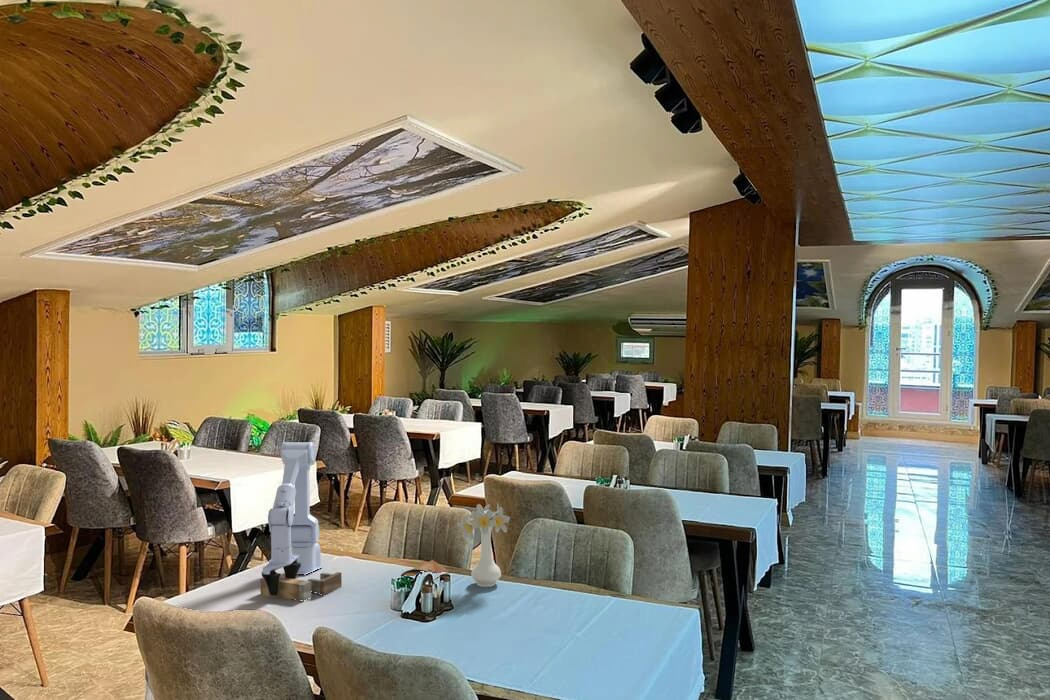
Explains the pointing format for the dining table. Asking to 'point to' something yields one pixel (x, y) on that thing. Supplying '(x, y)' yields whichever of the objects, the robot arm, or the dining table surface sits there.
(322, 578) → the wooden channel piece
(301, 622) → the dining table surface
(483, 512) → the flower vase
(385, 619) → the dining table surface
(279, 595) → the bed rail
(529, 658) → the dining table surface
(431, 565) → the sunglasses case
